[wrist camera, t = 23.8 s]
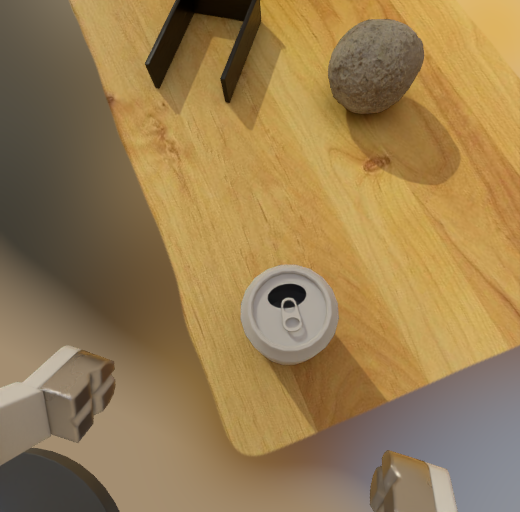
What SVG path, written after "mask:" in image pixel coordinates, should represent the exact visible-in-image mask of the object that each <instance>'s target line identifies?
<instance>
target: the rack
mask: <svg viewBox="0 0 520 512" xmlns="http://www.w3.org/2000/svg"><path fill="white" fill-rule="evenodd" d="M194 12H195V13H201V14H206V15H212V16H218V17H224V18H230V19H236V20H242V21H244V22H243V24H242V26H241V29H240V31H239V34H238V36H237V39H236V41H235V44H234V46H233V49H232V51H231V54H230V56H229V59H228V61H227V64H226V66H225V69H224V71H223V73H222V76H221V78H220V79H221V84H222V88H223V93H224V98H225V102H228V103H229V102H230V100H231V97H232V95H233V92H234V90H235V87H236V84H237V82H238V79H239V77H240V74H241V71H242V69H243V66H244V64H245V61H246V59H247V56H248V53H249V51H250V48H251V46H252V43H253V40H254V38H255V35H256V33H257V30H258V27H259V25H260V22H261V11H260V0H176V1H175V3H174V5H173V7H172V9H171V11H170V13H169V15H168V17H167V19H166V21H165V23H164V25H163V27H162V29H161V32H160V34H159V36H158V38H157V40H156V42H155V44H154V46H153V48H152V50H151V52H150V54H149V56H148V58H147V60H146V62H145V65H146V68H147V70H148V72H149V74H150V77H151V79H152V81H153V83H154V85H155V87H156V88H160V86H161V83H162V81H163V79H164V77H165V75H166V73H167V70H168V68H169V66H170V64H171V62H172V59H173V57H174V55H175V53H176V51H177V49H178V46H179V44H180V42H181V40H182V38H183V36H184V33H185V31H186V29H187V27H188V25H189V23H190V20H191V18H192V16H193V14H194Z"/></svg>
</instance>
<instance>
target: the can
mask: <svg viewBox="0 0 520 512" xmlns="http://www.w3.org/2000/svg"><path fill="white" fill-rule="evenodd" d="M338 319H339V316H338V303H337V300H336V298H335V295H334V293H333V290H332V288H331V287H330V286H329V285H328V284H327V282H326V281H325V280H324V279H323V277H321V276H320V275H318V274H317V273H315V272H314V271H312V270H311V269H308V268H305V267H301V266H298V265H279V266H276V267H273V268H270V269H267V270H265V271H264V272H263V273H261V274H260V275H258V276H257V277H256V278H254V280H253V281H252V283H251V284H250V285H249V287H248V288H247V289H246V291H245V294H244V297H243V300H242V303H241V322H242V325H243V328H244V332H245V335H246V336H247V337H248V339H249V340H250V342H251V343H252V344H253V346H254V347H255V348H256V349H257V350H258V351H259V352H260V353H261V354H262V355H264V356H265V357H266V358H268V359H269V360H270V361H272V362H275V363H278V364H281V365H296V364H299V363H302V362H304V361H307V360H309V359H310V358H312V357H314V356H315V355H316V354H318V353H319V352H320V351H321V350H323V349H324V348H325V347H326V346H327V345H328V343H329V342H330V340H331V339H332V337H333V336H334V334H335V331H336V327H337V323H338Z"/></svg>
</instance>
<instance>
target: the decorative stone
mask: <svg viewBox="0 0 520 512" xmlns="http://www.w3.org/2000/svg"><path fill="white" fill-rule="evenodd" d="M423 60H424V50H423V43H422V41H421V39H420V38H418V36H417V34H416V33H415V32H414V31H413V30H412V29H411V28H410V27H409V26H407V25H405V24H403V23H401V22H398V21H395V20H390V19H377V20H374V19H371V20H366V21H364V22H361V23H359V24H358V25H356V26H354V27H353V28H352V29H350V30H349V31H348V32H347V33H346V34H345V35H344V36H343V37H342V38H341V39H340V41H339V43H338V44H337V46H336V48H335V49H334V51H333V53H332V56H331V60H330V62H329V67H328V78H329V82H330V88H331V91H332V94H333V97H334V98H335V99H336V100H337V101H338V103H340V104H342V105H343V106H344V107H345V108H346V109H348V110H349V111H351V112H354V113H359V114H364V113H367V114H370V113H378V112H381V111H384V110H386V109H388V108H389V107H390V105H393V104H395V103H396V102H398V101H399V100H400V99H401V97H402V96H403V95H404V94H405V93H406V91H407V90H408V89H409V88H410V86H411V84H412V83H413V81H414V79H415V77H416V76H417V74H418V72H419V71H420V69H421V66H422V63H423Z"/></svg>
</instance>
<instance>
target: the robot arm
mask: <svg viewBox="0 0 520 512" xmlns="http://www.w3.org/2000/svg"><path fill="white" fill-rule="evenodd" d="M114 369H115V368H114V361H112V360H109V359H106V358H104V357H101V356H98V355H95V354H92V353H90V352H87V351H84V350H81V349H78V348H75V347H72V346H69V345H67V346H64V347H62V348H61V349H59V350H58V351H57V352H56V353H55V354H54V355H53V356H52V357H50V358H49V359H48V360H47V361H46V362H45V363H44V364H43V365H42V366H40V367H39V368H38V369H37V370H36V371H35V372H34V373H33V374H32V375H30V376H29V377H28V378H27V379H26V380H25V381H24V382H23V383H20V382H15V383H12V384H10V385H7V386H4V387H2V388H0V466H1V465H2V464H4V463H6V462H7V461H9V460H11V459H13V458H14V457H16V456H18V455H19V454H21V453H23V452H25V451H26V450H28V449H30V448H31V447H33V446H35V445H36V444H38V443H40V442H41V441H43V440H45V439H47V438H49V437H50V436H51V434H52V435H55V436H58V437H61V438H64V439H68V440H70V441H73V442H76V443H78V442H79V441H80V440H81V439H82V437H83V436H84V435H85V434H86V432H87V431H88V430H89V428H90V427H91V426H92V424H93V416H94V415H96V414H98V413H100V412H102V411H103V410H104V409H105V408H106V406H107V405H108V403H109V402H110V400H111V398H112V396H113V394H114V389H115V379H114V377H113V376H112V375H111V373H112V372H113V371H114ZM370 506H371V507H372V509H373V511H374V512H458V511H457V506H456V501H455V497H454V493H453V488H452V484H451V479H450V475H449V473H448V471H447V469H444V468H441V467H438V466H435V465H432V464H429V463H425V462H424V461H421V460H418V459H415V458H412V457H408V456H405V455H402V454H399V453H396V452H392V451H389V450H387V451H386V452H385V453H384V455H383V457H382V466H380V467H378V468H376V470H375V473H374V475H373V478H372V483H371V489H370Z"/></svg>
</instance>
